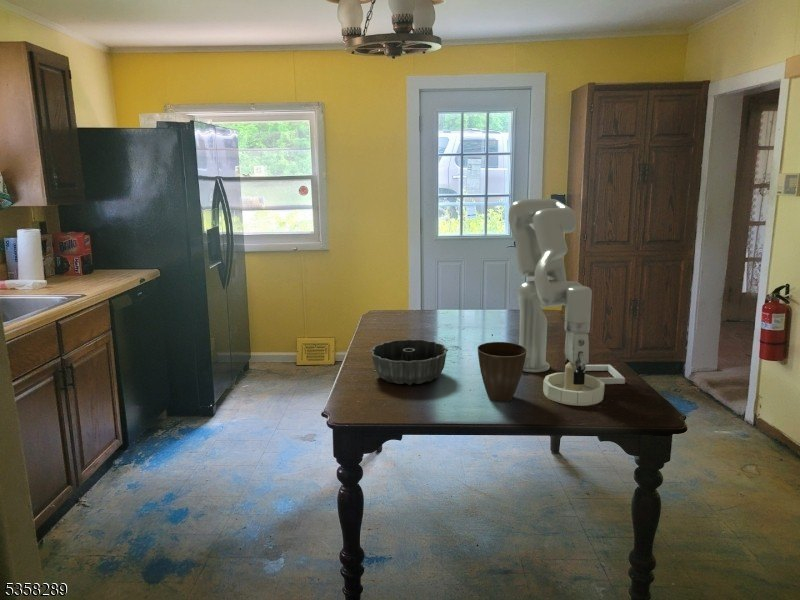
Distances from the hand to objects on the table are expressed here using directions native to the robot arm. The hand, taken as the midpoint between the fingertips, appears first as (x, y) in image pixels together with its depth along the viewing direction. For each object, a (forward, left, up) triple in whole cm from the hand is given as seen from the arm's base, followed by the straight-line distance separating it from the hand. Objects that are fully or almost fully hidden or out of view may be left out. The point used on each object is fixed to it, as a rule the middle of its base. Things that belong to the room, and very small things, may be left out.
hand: (573, 378), depth 183 cm
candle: (0, 0, -5) cm, 5 cm away
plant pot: (-20, +12, -6) cm, 24 cm away
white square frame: (+20, +6, -5) cm, 22 cm away
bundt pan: (-31, +45, -6) cm, 55 cm away
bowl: (0, 0, -5) cm, 5 cm away
